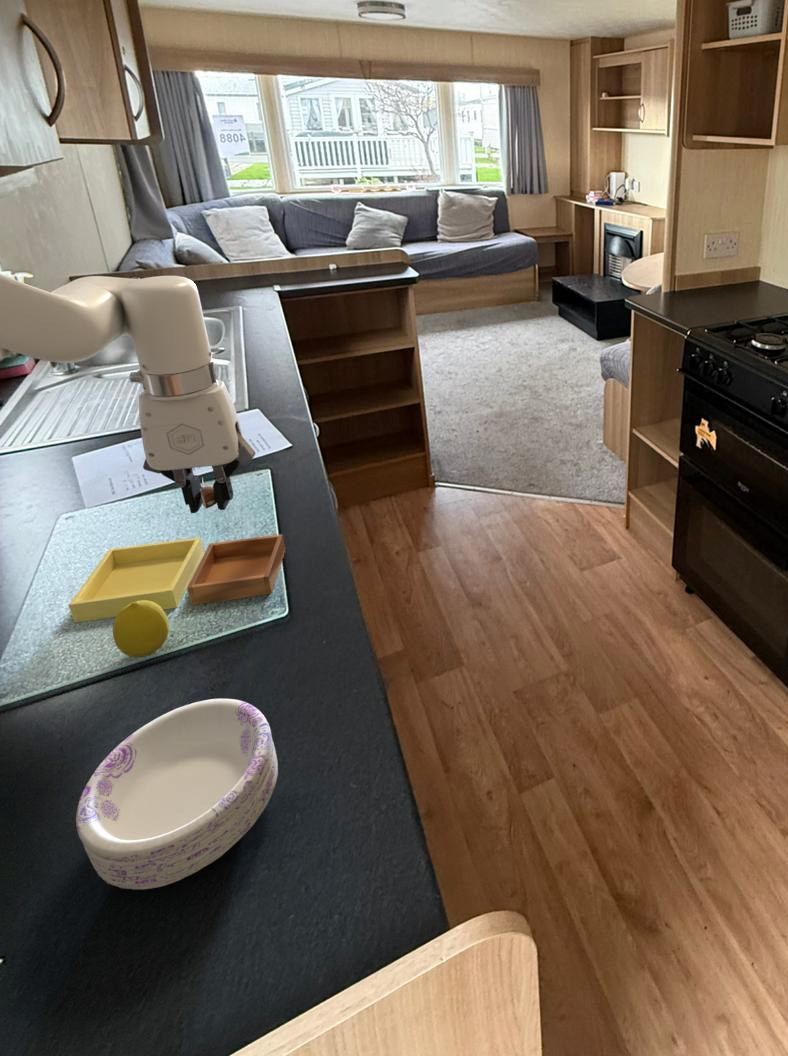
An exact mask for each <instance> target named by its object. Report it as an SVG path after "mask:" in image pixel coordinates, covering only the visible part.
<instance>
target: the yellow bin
mask: <svg viewBox="0 0 788 1056" xmlns="http://www.w3.org/2000/svg"><path fill="white" fill-rule="evenodd" d="M203 546H204V545H203V543H202V539H201V537H194V538H186V539H179V540H171V541H163V542H162V541H161V542H153V543H146V544H138V545H130V546H122V547H116V548H115V547H114V548H109V549H108V550H107V551H106V553H105V555H104V556H103V557H102V559H100V561H99V562H98V564H97V566H96V567H95V568H94V569H93V571H92V572H91V573H90V574H89V576H88V577H87V579H86V581H84V584H82V586H81V587H80V589H79V590H78V592H77V593H76V594H75V595H74V597H73V598H72V600H70V602H69V604H68V608H69V609H70V614H71V616H72V619H73V621H74V623H75V624H76V623H83V622H89V621H96V620H103V619H104V620H105V619H110V618H116V617H117V615H118V613H119V612H120V611H121V610H122V609H123V608H124V607H126V606H127V605H129V604H131V603H133V602H136V601H141V600H147V601H152V602H154V603H156V604H158V605H159V606H160V607H161V608H162V609H163V611H164V610H170V609H177V608H178V607H179V605H180V603H181V600H182V599H183V597H184V596H185V593H186V591H187V590H188V589H187V587H188V586H189V584H190V582H191V580H192V578H193V576H194V574H195V572H196V570H197V568H198V566H199V564H200V562H201V560H202V558H203V556H204V554H205V551H204V547H203Z"/></svg>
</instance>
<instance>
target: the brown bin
mask: <svg viewBox="0 0 788 1056" xmlns="http://www.w3.org/2000/svg"><path fill="white" fill-rule="evenodd" d="M285 549H286V544H285V539H284V535H283V533H279V534H273V535H265V536H257V537H251V538H242V539H236V540H235V539H234V540H227V541H219V542H211V543H209V544H208V546H207V548H206V550H205V551H204V555H203V557H202V559H201V561H200V563H199V565H198V567H197V569H196V571H195V573H194V575H193V577H192V579H191V581H190V583H189V585H188V587H187V589H186V590H187V593H188V596H189V599H190V604H191V606H198V605H205V604H210V603H218V602H225V601H231V600H238V599H244V598H251V597H252V598H253V597H257V596H258V597H259V596H266V595H271V594H273V592H274V589H275V585H276V582H277V578H278V576H279V573H280V571H281V567H282V564H283V560H284V557H285V554H286V551H285ZM286 550H287V549H286ZM284 553H285V554H284ZM282 559H283V560H282ZM280 566H281V567H280Z"/></svg>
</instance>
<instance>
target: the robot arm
mask: <svg viewBox="0 0 788 1056" xmlns="http://www.w3.org/2000/svg"><path fill="white" fill-rule="evenodd" d="M207 330H208V329H207V326H206V321H205V317H204V313H203V307H202V303H201V298H200V294H199V290H198V287H197V285H196V283H194V281H193V280H191V279H190V278H187V277H185V276H179V275H160V276H159V275H158V276H150V277H149V276H148V277H144V278H129V277H116V276H103V275H91V276H83V277H79V278H77V279H73V280H71V281H70V282H67V283H66V284H64V285H62V286H59V287H57V288H55V289H54V290H52V291H47V290H45V289H42V288H39V287H36V286H33V285H30V284H28V283H25V282H22V281H19V280H18V279H14V278H12V277H9V276H7V275H5V274H3V273H1V272H0V348H2V349H4V350H8V351H10V352H14V353H16V354H19V355H23V356H26V357H29V358H33V359H37V360H40V361H45V362H51V363H57V364H72V363H73V364H74V363H79V362H84V361H86V360H89V359H91V358H94V357H95V356H97V354H99V353H100V352H102V351H103V350H104V349H105V348H106V347H108V346H109V345H110V344H111V343H112V342H114V341H116V340H118V339H120V338H123V337H124V336H127V335H130V336H131V339H132V343H133V347H134V350H135V354H136V358H137V362H138V366H139V370H137V371H132V372H130V373H129V380H130V381H129V382H130V383H131V384H138V385H139V384H141V385H142V388H143V391H142V392H141V393H140V394H139V395H138V414H139V426H140V427H139V428H140V435H141V440H142V441H141V442H142V446H143V452H144V456H145V459H144V462H143V465H142V468H143V469H144V470H145V471H146V472H147V471H148V472H151V473H155V474H161V475H162V476H163V477H165V478H168V479H169V480H171V481H172V482H174V484H175V486H176V487H178V488H181V492H182V496H183V500H184V504H185V505H186V506H188V508H189V511H190V514H196V513H198V512H199V511H200V509H201V507H202V506H203V501H202V497H201V493H200V489H201V487H202V483H201V481H200V477H199V476H198V475H197V474H195V473H194V471H193V469H195V468H205V467H211V468H212V469H211V470H212V472H213V475H214V482H213V484H212V487H213V489H214V494H215V498H216V502H217V503H216V505H217V510H219V511H225V510H226V508H227V506H228V504H229V503H230V501H232V500H233V497H234V489H233V485H232V480H231V476H232V474H234V472H235V471H236V470H237V469H238V468H239V467H241V466H244V465H245V464H248V463H249V462H251V461H252V460H254V457H255V456H256V451H255V450H254V448H253V447H252V446H251V445H250V444H249V442H248V441H246V439H245V438H244V434H243V429H242V427H241V423H240V420H239V417H238V413H237V410H236V408H235V405H234V402H233V400H232V397H231V395H230V393H229V391H228V388H227V387H226V385H225V383H224V381H223V380H220V379H218V377H217V372H216V368H215V363H214V360H213V355H212V350H211V345H210V340H209V335H208V332H207Z"/></svg>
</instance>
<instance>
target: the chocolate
mask: <svg viewBox="0 0 788 1056" xmlns="http://www.w3.org/2000/svg"><path fill="white" fill-rule="evenodd" d="M201 479H202V481H201V489H200V493H201V497H202V501H203V504H202V506H203V507H204V508H205V509H209V508H211V507H214V506H215V505H217V502H216V498H215V494H214V489H213V486H211V485H209V486H208V485H207V486H204V485H205V483H204V482H205V481H204V478H203V477H201Z"/></svg>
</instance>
